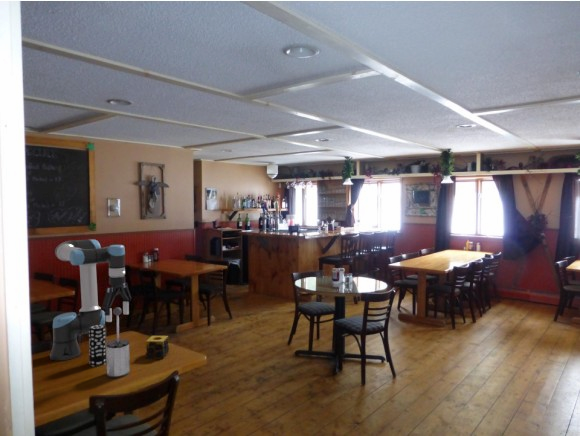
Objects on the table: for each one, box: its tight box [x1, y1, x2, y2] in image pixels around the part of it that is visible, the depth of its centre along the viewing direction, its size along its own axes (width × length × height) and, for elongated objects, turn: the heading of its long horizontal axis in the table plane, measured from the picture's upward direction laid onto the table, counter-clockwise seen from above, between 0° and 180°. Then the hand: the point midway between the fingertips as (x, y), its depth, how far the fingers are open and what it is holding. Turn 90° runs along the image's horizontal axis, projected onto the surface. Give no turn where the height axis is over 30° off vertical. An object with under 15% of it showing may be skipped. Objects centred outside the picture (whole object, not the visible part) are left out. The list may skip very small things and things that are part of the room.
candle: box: [145, 335, 170, 360], centre depth 238 cm, size 10×10×10 cm
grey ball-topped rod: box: [112, 307, 123, 343], centre depth 213 cm, size 8×8×24 cm
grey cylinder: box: [106, 338, 130, 379], centre depth 215 cm, size 10×13×16 cm
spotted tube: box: [88, 324, 107, 367], centre depth 226 cm, size 8×8×20 cm
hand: (117, 317), depth 212 cm, fingers open, 13 cm apart
